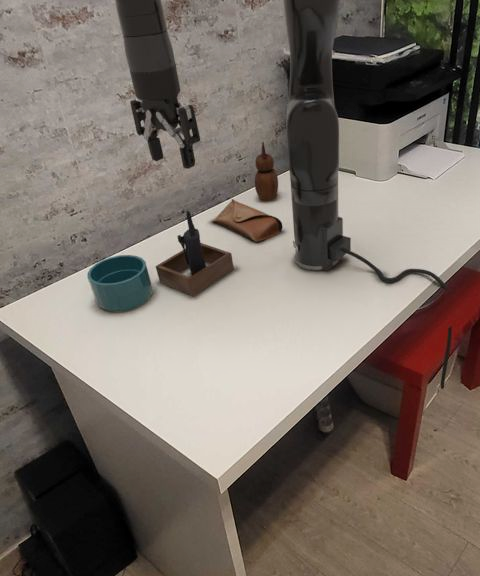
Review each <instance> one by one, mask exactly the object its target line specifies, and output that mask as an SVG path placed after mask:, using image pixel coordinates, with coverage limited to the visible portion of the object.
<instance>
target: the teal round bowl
mask: <svg viewBox="0 0 480 576" xmlns="http://www.w3.org/2000/svg"><path fill="white" fill-rule="evenodd" d="M87 280H88V283H89V286H90V288H91V291H92V294H93V296H94V297H93V298H94V299H95V302H96V304H97V305H98V307H99V308H101V309H103V310H106V311H109V312H115V313H117V312H118V313H119V312H120V313H121V312H127V311H130V310H133V309H136V308H138V307H140V306H142V305H144V304H145V303H146V302H148V301H149V299H150V298H151V297H152V295H153V293H154V288H153V284H152V280H151V276H150V273H149V269H148V266H147V262H146V261H145V259H144V258H143V257H140V256H138V255H132V254H121V255H115V256H111V257H108V258H105V259H102V260H100V261H98V262H97V263H94V265H93V266H92V267H90V269H89V270H88V271H87Z"/></svg>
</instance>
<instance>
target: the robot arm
mask: <svg viewBox="0 0 480 576" xmlns="http://www.w3.org/2000/svg"><path fill="white" fill-rule="evenodd" d="M114 2H115V8H116V13H117V17H118V22H119V25H120V30H121V35H122V38H123V47H124V53H125V57H126V62H127V66H128V70H129V74H130V78H131V82H132V86H133V90H134V94H135V97H136V98H134V99H133V100H130V107H131V112H132V113H131V114H132V117H133V121H134V126H135V131H136V134H137V136H142V137H143V138H144V139H145V141H146V142H147V146H148V151H149V154H150V156H151V160H152V161H154V162H158V161H160V160H163V159H164V151H163V147H162V143H161V138H160V137H158V136H159V134H160V130H162V131H164V132H167V133H168V135H169V136H170V137H171V138H174V140H175V142H176V143H177V145H178V146H179V153H180V157H181V163H182V167H183V168H184V169H187V170H189V169H190V168H193V167H195V166H196V158H195V151H194V147H193V146H194V145H195V144H196V143H199V142H201V135H200V131H199V126H198V121H197V117H196V114H195V108H194V106H193V105H192V104H188V105H185V106H183V105H182V106H181V104H180V102H179V99H178V97H179V95H180V93H181V85H180V79H179V75H178V70H177V64H176V58H175V54H174V49H173V45H172V41H171V37H170V34H169V31H168V27H167V26H168V25H167V22H166V16H165V11H164V5H163V1H162V0H114ZM340 6H341V0H283V10H284V18H285V20H284V21H285V28H286V35H287V41H288V46H289V59H290V61H289V62H290V63H289V64H290V66H289V88H288V97H287V98H288V99H287V107H286V113H285V114H286V118H285V119H286V122H285V123H286V125H285V126H286V127H285V128H286V140H287V154H288V155H287V156H288V170H289V179H290V193H291V195H290V196H291V207H292V208H291V210H292V220H293V221H292V224H293V237H294V240H292V243H293V248H294V249H295V250H294V251H295V256H294V257H295V259H294V260H295V263H296V264H297V266H298V267H300V268H301V269H304V270H309V271H325V272H329V270H331V269H332V268H333V267H335V266H336V265H337V264H338V263H340V262H341V261H342V260H343V259H344V256H346V255H349V256H352V258H353V257H354V258H355V259H357V260H359V261H360V262H362V263H364V264H365V265H366V266H368V267H369V268H370V269H372V270H373V271H374V272H376V273H377V275H378V277H379V278H380V280H382V281H383V282H385V283H394V282H397V281H399V280H400V279H402V278H403V277H404V276H405V275H407V274H413V273H414V274H423V275H427V276H429V277H431V278H432V279H434V280H435V281H436V282H437V283H438V284H439V286H440V287H441V288H442V289H443V290H445V291H446V290H448V286H447V285H446V284H445V282H444V281H443V279H442V278H440V277H439V276H438V275H436V273H434V272H432V271H430V270H427V269H423V268H422V269H421V268H407V269H405V270H402V272H400V273H399V274H397V275H396V276H394V277H386V276H385V275H384V274H383V273H382V271H381V270H380V269H379V268H378V267H377V266H376V265H374V264H373V263H372V262H370V261H369V260H368V259H366V258H365V257H363V256H361V255H359V254H357V253H356V252H354V251H351V249H352V248H351V245H352V243H351V237H349V236H346V235H344V219H343V217H341V216H339V170H340V121H339V115H338V111H337V107H336V104H335V103H336V102H335V96H334V84H333V82H334V81H333V51H334V44H335V39H336V34H337V28H338V20H339V15H340V14H339V13H340ZM142 121H143V126H142ZM178 126H179V127H178ZM190 131H191V132H190ZM191 133H192V134H191ZM182 136H183V137H182ZM452 335H453V325H450V326H449V327H448V328H447V339H446V346H445V354H444V359H443V366H442V371H441V377H440V378H441V379H440V390H441V389H442V390H444V389H445V382H446V376H447V369H448V364H449V358H450V352H451V345H452Z"/></svg>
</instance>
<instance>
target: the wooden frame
mask: <svg viewBox="0 0 480 576" xmlns="http://www.w3.org/2000/svg"><path fill="white" fill-rule="evenodd" d="M201 245H202V250H203V254H204V259H205V263H208V265H206V267H205V268H203V269H202V270H200V271H199V272H197V273H195V274H194V275H191V276H189V275H186V274H184V273H182V272H183V271H185V270H187V269H189V268H190V267H189V264H187V262H186V258H185V254H184V250H183V249H182V250H181V251H179V252H177V253H175V254H173V255H172V256H170V257H168V258H167V259H165V260H164V261H162V262H159V263H158V264H157V265H155V271H156V273H157V277H158V281H159V283H160V284H162V285H165V286H167V287H169V288H171V289H174V290H176V291H179V292H182V293H184V294H186V295H188V296H191V297H196V296H197V295H199V294H200V293H202V292H203V291H205V290H206V289H208V288H209V287H210V286H212V285H214V283H217V282H218V281H220V280H221V279H222V278H224V277H225V276H227V275H228V274H230V273H231V272H234V270H235V267H234V260H233V255H232V252H229V251H227V250H224V249H221V248H217V247H215V246H212V245H208V244H206V243H203V242H201ZM185 251H186V248H185ZM186 255H187V254H186ZM187 259H188V258H187Z"/></svg>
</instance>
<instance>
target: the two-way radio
mask: <svg viewBox="0 0 480 576" xmlns="http://www.w3.org/2000/svg"><path fill="white" fill-rule="evenodd" d="M185 214H186V215H185V216H186V221H187V226H188V229H187V230H186V231H185V232H184V233H183V235H182V234H179V235H177V241H178V243H179V244H180V245H181V248H182V250H184V254H185V258H186V262H187V264H189V267H188V268H189V271H190V274H191V276H192V275H194V274H195V273H197V272H199V271H200V270H202V269H203V268H205V267H206V266H207V264H206V263H207V262H205V259H204V254H203V250H202V245H201V243H202V242H201V236H200V230H199V229H198V228H196V227H195V224H194V222H193V218H192V214H191V211H190V210H187V211H186V212H185ZM185 249H186V251H185ZM186 254H187V255H186ZM187 258H188V259H187Z"/></svg>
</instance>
